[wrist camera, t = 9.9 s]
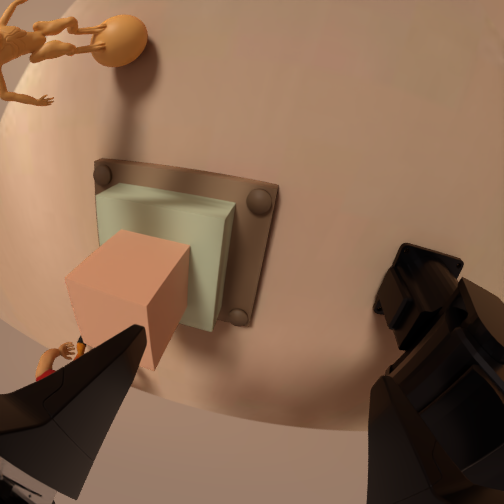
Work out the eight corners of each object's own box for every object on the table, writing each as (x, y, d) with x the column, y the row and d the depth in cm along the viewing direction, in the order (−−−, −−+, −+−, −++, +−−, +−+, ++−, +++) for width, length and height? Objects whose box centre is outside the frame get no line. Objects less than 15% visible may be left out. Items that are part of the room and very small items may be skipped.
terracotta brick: (190, 245, 17) (146, 306, 12) (187, 306, 19) (154, 371, 14) (121, 229, 17) (64, 277, 12) (126, 289, 20) (83, 342, 14)
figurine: (157, 91, 16) (15, 97, 6) (92, 105, 17) (-38, 133, 7) (160, -7, 12) (45, -64, 2) (95, 15, 13) (-24, -2, 3)
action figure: (77, 333, 31) (18, 415, 18) (70, 313, 29) (3, 399, 16) (137, 356, 30) (82, 458, 17) (132, 336, 29) (68, 445, 15)
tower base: (278, 184, 18) (273, 203, 15) (250, 319, 24) (242, 352, 21) (101, 158, 19) (69, 171, 16) (110, 281, 25) (88, 305, 22)
